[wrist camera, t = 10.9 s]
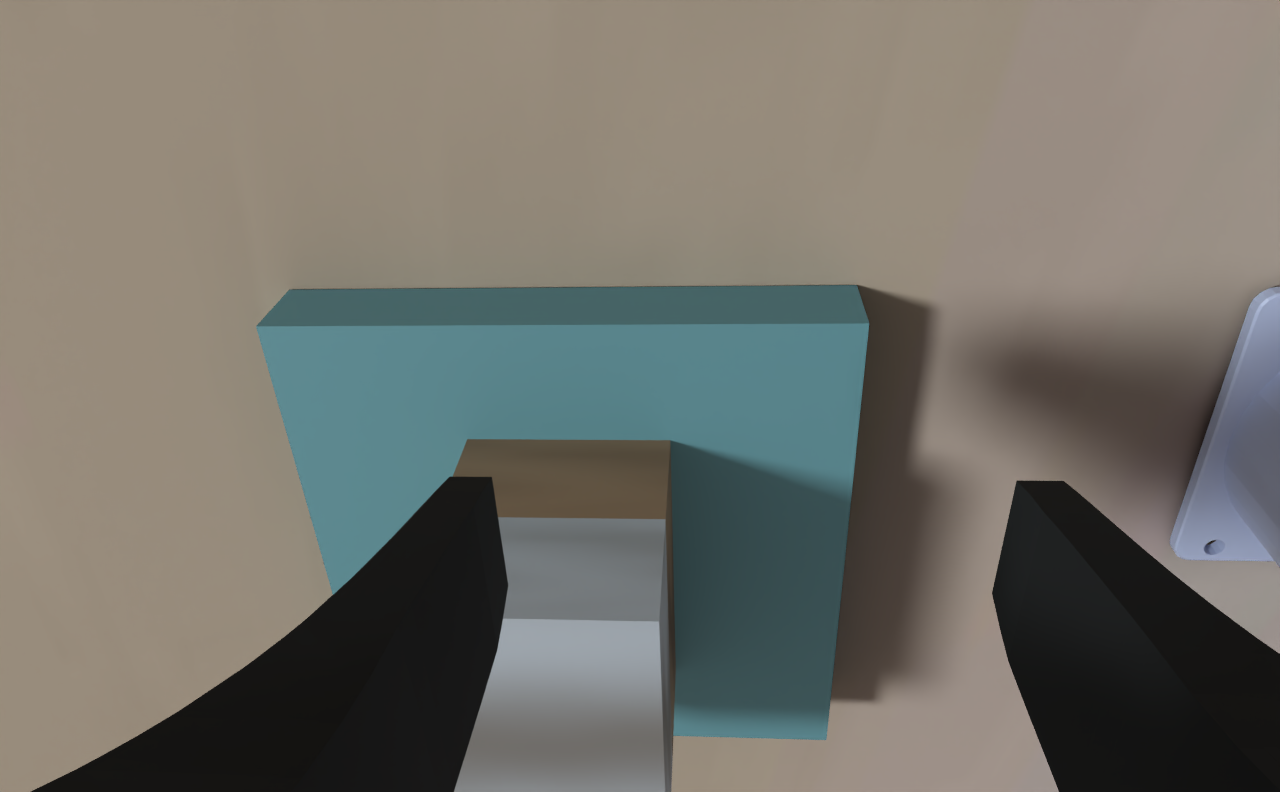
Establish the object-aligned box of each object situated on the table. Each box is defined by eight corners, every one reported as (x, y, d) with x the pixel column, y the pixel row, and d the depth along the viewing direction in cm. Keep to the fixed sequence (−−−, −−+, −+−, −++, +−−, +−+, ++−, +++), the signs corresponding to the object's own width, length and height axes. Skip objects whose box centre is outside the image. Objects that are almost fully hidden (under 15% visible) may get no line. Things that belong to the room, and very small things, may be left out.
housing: (675, 670, 26) (667, 870, 21) (504, 666, 27) (456, 862, 22) (670, 440, 22) (658, 621, 17) (467, 439, 23) (397, 616, 18)
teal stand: (856, 285, 22) (869, 323, 20) (819, 686, 29) (826, 739, 28) (289, 289, 23) (256, 326, 21) (389, 676, 30) (371, 727, 29)
